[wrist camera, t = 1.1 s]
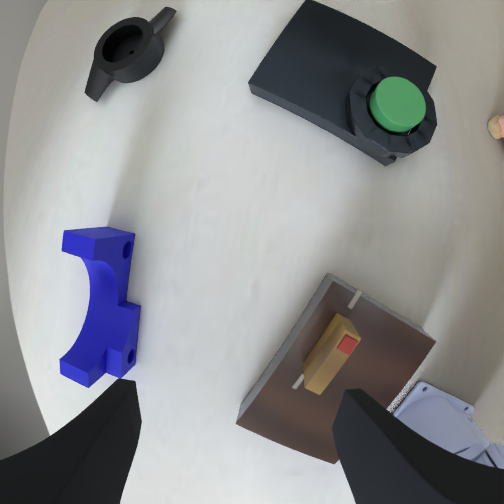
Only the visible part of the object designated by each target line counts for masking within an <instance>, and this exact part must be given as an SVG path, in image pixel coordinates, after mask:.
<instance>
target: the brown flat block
mask: <svg viewBox="0 0 504 504" xmlns="http://www.w3.org/2000/svg"><path fill="white" fill-rule="evenodd" d="M336 313H339V314H340V315H342V316H344V317H346V318H348V319H349V320H351V322H352V324H353V325H354V327H355V329H356V331H357V332H358V334H359V336H360V337H361V340H360V342H359V343H358V344H357V346H356V347H355V349H354V350H353V352H352V353H351V354H350V356H349V357H348V359H347V360H346V361H345V363H344V364H343V366H342V367H341V368H340V370H339V371H338V372H337V374H336V375H335V376H334V378H333V379H332V380H331V382H330V383H329V384H328V386H327V387H326V388H325V389H324V391H323V392H322V393H321V394H320V395H319V394H317V393H315V392H313V391H310V390H308V389H306V388H305V386H304V374H303V362H304V361H305V359H306V358H307V356H308V355H309V354H310V352H311V351H312V349H313V348H314V346H315V345H316V343H317V342H318V340H319V339H320V337H321V336H322V334H323V333H324V331H325V330H326V328H327V327H328V325H329V324H330V322H331V321H332V319H333V318H334V316H335V315H336ZM435 343H436V341H435V340H434V339H433V338H432V337H431V336H429V335H428V334H427V333H426V332H425V331H424V330H423V329H421V328H420V327H418V326H417V325H415V324H413V323H412V322H410V321H408V320H407V319H405V318H403V317H402V316H400V315H398V314H397V313H395V312H393V311H392V310H390V309H388V308H387V307H385V306H383V305H382V304H380V303H378V302H376V301H375V300H373V299H371V298H370V297H368V296H366V295H365V294H363V293H362V291H360V290H359V289H358V290H356V289H354V288H353V287H351V286H349V285H348V284H346V283H344V282H343V281H341V280H339V279H337V278H336V277H334V276H332V275H331V274H329V273H327V275H326V276H325V278H324V280H323V281H322V283H321V285H320V286H319V288H318V290H317V291H316V293H315V294H314V296H313V298H312V299H311V301H310V303H309V304H308V306H307V307H306V309H305V311H304V312H303V314H302V315H301V317H300V318H299V320H298V322H297V323H296V325H295V326H294V328H293V329H292V331H291V332H290V334H289V335H288V337H287V339H286V340H285V342H284V343H283V345H282V346H281V348H280V349H279V351H278V352H277V354H276V355H275V357H274V358H273V359H272V361H271V362H270V364H269V365H268V367H267V368H266V370H265V371H264V373H263V374H262V375H261V377H260V378H259V380H258V381H257V383H256V384H255V385H254V387H253V388H252V390H251V391H250V393H249V394H248V395H247V397H246V398H245V399H244V401H243V402H242V404H241V405H240V409H239V413H238V417H237V421H236V424H237V425H239V426H241V427H243V428H245V429H247V430H249V431H252V432H254V433H256V434H258V435H260V436H263V437H265V438H267V439H269V440H272V441H274V442H276V443H279V444H281V445H284V446H286V447H289V448H291V449H294V450H296V451H299V452H301V453H304V454H307V455H309V456H312V457H315V458H318V459H320V460H323V461H326V462H329V463H332V464H335V463H336V462H337V461H338V460H339V457H338V454H337V451H336V447H335V442H334V438H333V433H332V426H333V423H334V420H335V417H336V415H337V412H338V409H339V406H340V403H341V400H342V397H343V394H344V391H345V389H358V388H361V389H362V390H363V391H365V392H366V393H367V394H368V395H370V396H371V397H372V398H373V399H374V400H376V401H377V402H378V403H379V404H380V405H382V406H383V407H384V408H385V409H387V407H388V406H389V405H390V404H391V403H392V401H393V400H394V399H395V398H396V396H397V395H398V394H399V393H400V391H401V390H402V389H403V387H404V386H405V385H406V384H407V382H408V381H409V380H410V378H411V377H412V376H413V374H414V373H415V372H416V370H417V369H418V367H419V366H420V365H421V363H422V362H423V360H424V359H425V357H426V356H427V355H428V353H429V352H430V350H431V349H432V347H433V346H434V344H435Z"/></svg>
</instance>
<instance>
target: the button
mask: <svg viewBox="0 0 504 504" xmlns="http://www.w3.org/2000/svg"><path fill="white" fill-rule="evenodd" d="M370 110H371V113H372V115H373V117H374V119H375V120H376V121H377V123H378V124H379V125H380V126H382V127H383V128H385V129H386V130H388V131H391V132H395V133H403V132H406V131H408V130H410V129H411V128H413V127H414V126H416V125H417V124H418V123H420V122H421V121H422V119H423V118H424V116H425V112H426V104H425V100H424V97H423V95H422V93H421V92H420V90H419V89H418V88H417V87H416V86H415V85H414V84H413V83H412V82H410V81H408V80H407V79H404V78H401V77H388V78H385V79H384V80H382V81H381V82H380V83H379V84H378V86H377V87H376V89H375V90H374V92H373V93H372V95H371V97H370Z"/></svg>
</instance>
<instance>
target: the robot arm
mask: <svg viewBox="0 0 504 504" xmlns="http://www.w3.org/2000/svg"><path fill="white" fill-rule="evenodd" d="M424 387H426V388H425V389H423V388H424ZM474 410H475V408H474V406H472V405H470V404H468V403H466V402H464V401H462V400H460V399H458V398H456V397H454V396H452V395H450V394H448V393H445V392H443V391H441V390H439V389H437V388H435V387H433V386H431V385H429V384H427V383H425V382H423V381H420V382H418V383H417V384H416V386H415V387H414V388H413V389H412V391H411V392H410V393H409V395H408V396H407V397H406V398H405V400H404V401H403V402H402V403H401V405H400V406H399V407H398V408H397V409H396V411H395V412H394V413H393V414H391V413H390V412H389V411H388V410H386V409H385V408H384V407H383V406H382V405H380V404H379V403H378V402H377V401H376V400H374V399H373V398H372V397H371V396H370V395H368V394H367V393H366V392H365V391H363V390H362V389H361V388H358V389H345V391H344V394H343V397H342V400H341V403H340V406H339V409H338V412H337V415H336V417H335V420H334V423H333V426H332V433H333V438H334V442H335V447H336V451H337V454H338V457H339V459H340V462H341V465H342V467H343V470H344V473H345V475H346V478H347V480H348V483H349V486H350V488H351V491H352V493H353V496H354V499H355V502H356V504H504V446H503V445H502V444H501V443H495V444H494V443H491V442H490V441H489V440H488V438H487V437H486V436H485V435H484V433H483V432H482V431H481V430H480V428H479V427H478V426H477V424H476V423H475V422H474V421H473V419H472V418H471V417H470V416H471V414H472V413H473V412H474ZM141 424H142V420H141V414H140V408H139V402H138V395H137V389H136V382H135V381H132V380H126V379H120V378H119V379H117V380H116V381H115V382H114V383H113V384H112V385H111V386H110V387H109V388H108V389H107V390H105V391H104V392H103V393H102V394H101V395H100V396H99V397H98V398H97V399H96V400H95V401H94V402H93V403H91V404H90V405H89V406H88V407H87V408H86V409H85V410H84V411H82V412H81V413H80V414H79V415H78V416H76V417H75V418H74V419H73V420H71V421H70V422H69V423H68V424H66V425H65V426H64V427H62V428H61V429H60V430H58V431H57V432H55V433H54V434H52V435H51V436H49V437H48V438H46V439H45V440H43V441H41V442H40V443H38V444H36V445H34V446H32V447H30V448H28V449H26V450H24V451H22V452H20V453H17V454H15V455H13V456H10V457H8V458H5V459H3V460H0V504H120V500H121V496H122V493H123V489H124V486H125V483H126V480H127V477H128V473H129V470H130V467H131V464H132V461H133V458H134V455H135V452H136V448H137V445H138V440H139V435H140V429H141Z"/></svg>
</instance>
